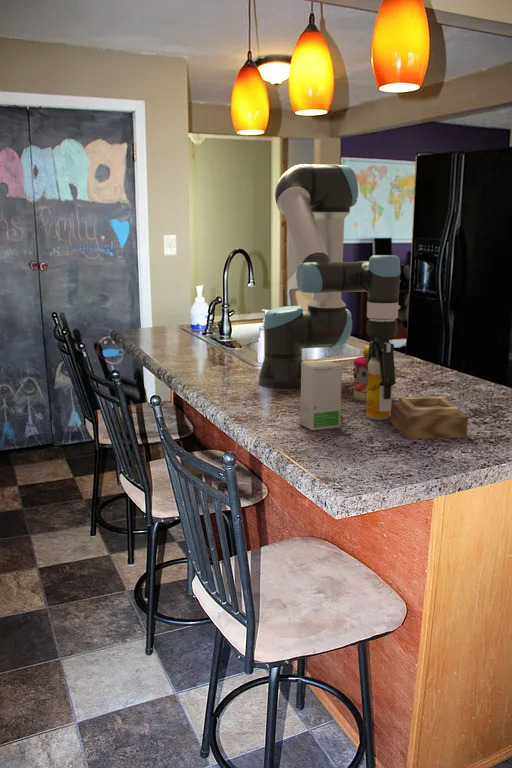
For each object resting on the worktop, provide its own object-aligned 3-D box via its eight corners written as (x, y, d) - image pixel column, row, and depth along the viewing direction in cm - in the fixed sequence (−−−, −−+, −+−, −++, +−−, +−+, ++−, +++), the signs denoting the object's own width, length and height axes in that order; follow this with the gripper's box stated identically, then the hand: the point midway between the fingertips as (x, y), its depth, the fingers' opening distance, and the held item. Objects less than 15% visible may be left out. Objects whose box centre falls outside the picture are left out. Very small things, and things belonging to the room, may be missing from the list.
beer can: (364, 413, 171) (366, 357, 167) (388, 413, 170) (390, 357, 167) (367, 420, 165) (370, 361, 161) (392, 420, 164) (395, 361, 161)
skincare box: (311, 431, 156) (312, 367, 152) (298, 424, 162) (299, 362, 158) (341, 427, 159) (343, 364, 156) (328, 420, 165) (329, 359, 162)
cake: (345, 397, 186) (346, 345, 183) (364, 390, 194) (366, 340, 191) (378, 404, 180) (380, 350, 176) (396, 396, 188) (398, 344, 184)
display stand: (406, 439, 150) (408, 411, 149) (390, 421, 164) (391, 396, 162) (466, 437, 151) (468, 410, 150) (445, 420, 165) (446, 394, 163)
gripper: (411, 326, 150) (407, 417, 155) (384, 312, 174) (381, 392, 179) (379, 326, 150) (375, 418, 155) (356, 313, 173) (354, 393, 178)
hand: (378, 404), depth 167 cm, fingers open, 12 cm apart
